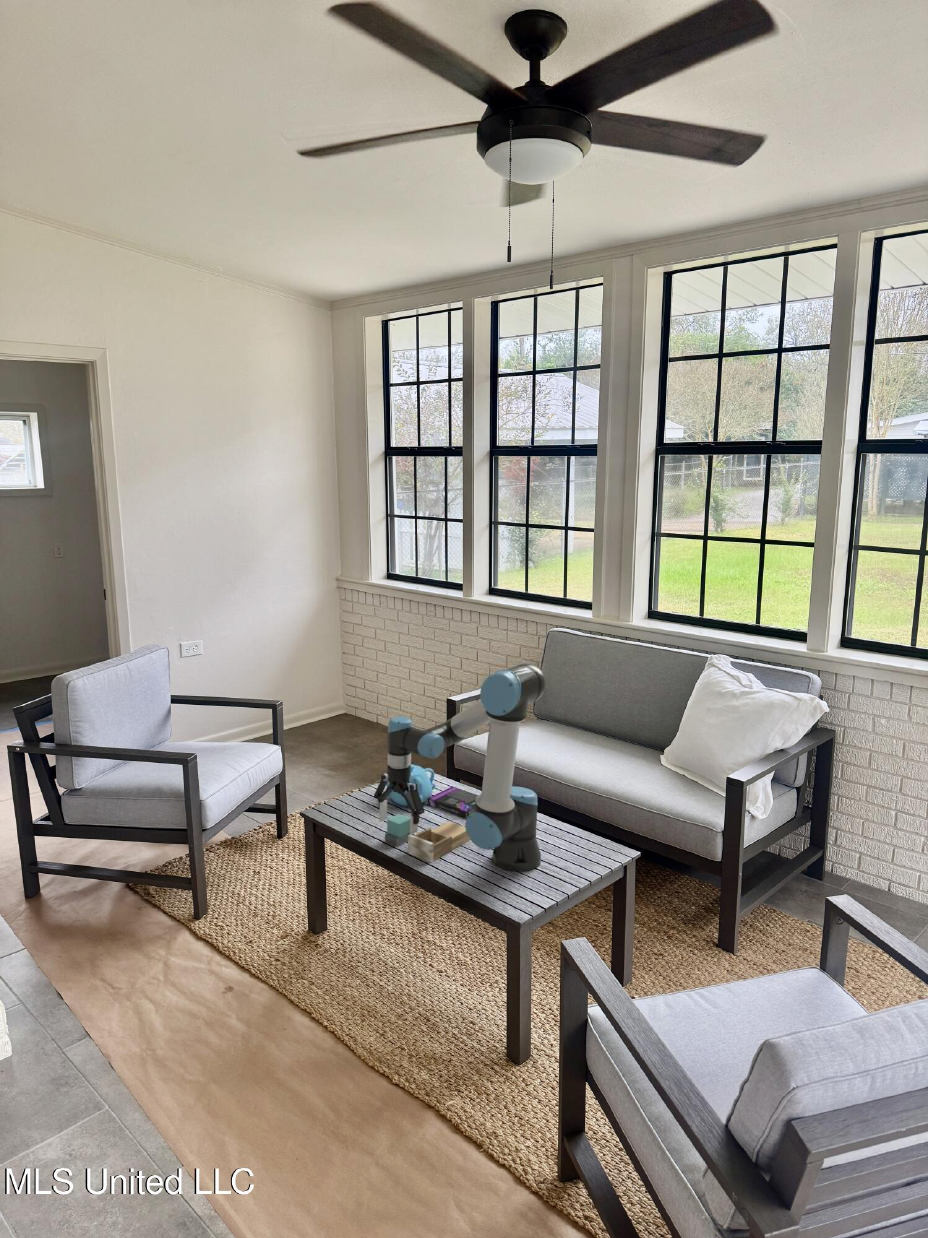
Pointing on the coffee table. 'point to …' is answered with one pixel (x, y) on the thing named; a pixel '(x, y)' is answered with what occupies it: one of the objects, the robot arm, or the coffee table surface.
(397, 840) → the dark grey block
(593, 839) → the coffee table surface
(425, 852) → the drawer
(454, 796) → the box
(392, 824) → the block
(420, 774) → the decorative pot
